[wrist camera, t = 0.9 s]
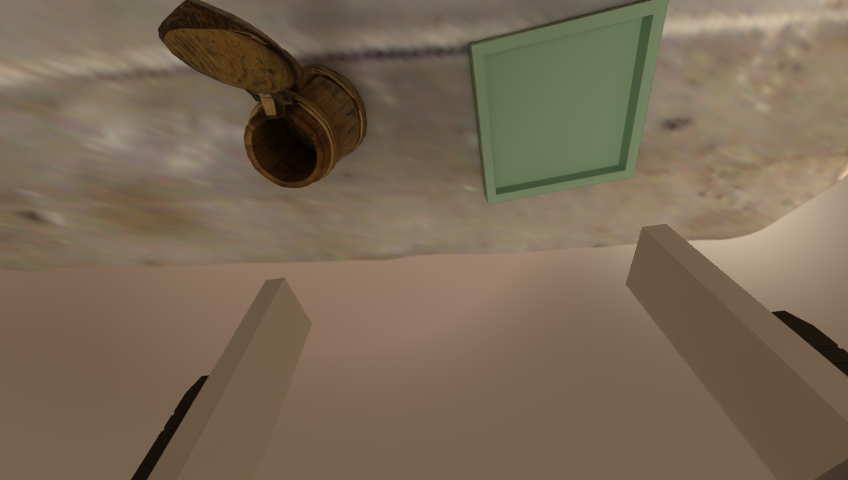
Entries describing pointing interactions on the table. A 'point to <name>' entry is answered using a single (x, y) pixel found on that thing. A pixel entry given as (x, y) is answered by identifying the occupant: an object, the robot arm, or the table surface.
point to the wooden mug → (271, 94)
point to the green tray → (565, 100)
